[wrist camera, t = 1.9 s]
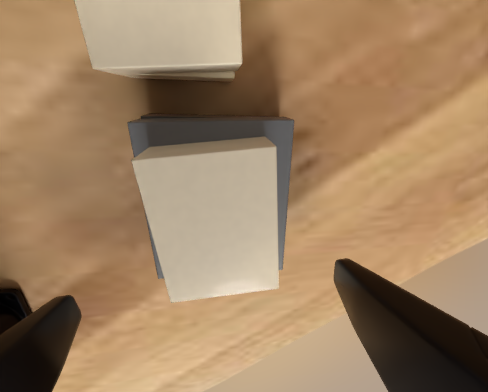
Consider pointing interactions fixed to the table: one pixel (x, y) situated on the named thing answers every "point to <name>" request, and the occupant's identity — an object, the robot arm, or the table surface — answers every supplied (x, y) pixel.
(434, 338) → the robot arm
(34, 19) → the table surface
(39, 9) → the table surface
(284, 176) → the grey books
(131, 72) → the beige block
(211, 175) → the cream rectangular block
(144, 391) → the table surface
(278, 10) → the table surface
